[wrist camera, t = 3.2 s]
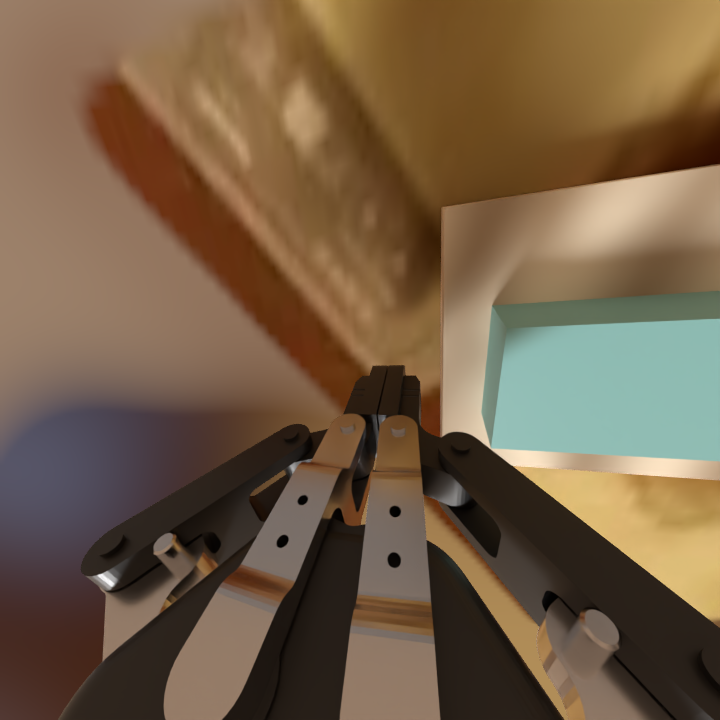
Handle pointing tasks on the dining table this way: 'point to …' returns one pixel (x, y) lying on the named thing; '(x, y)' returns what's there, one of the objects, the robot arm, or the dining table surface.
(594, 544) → the robot arm
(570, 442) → the teal rectangular block
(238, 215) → the dining table surface
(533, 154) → the dining table surface
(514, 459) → the cream flat block
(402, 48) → the dining table surface
